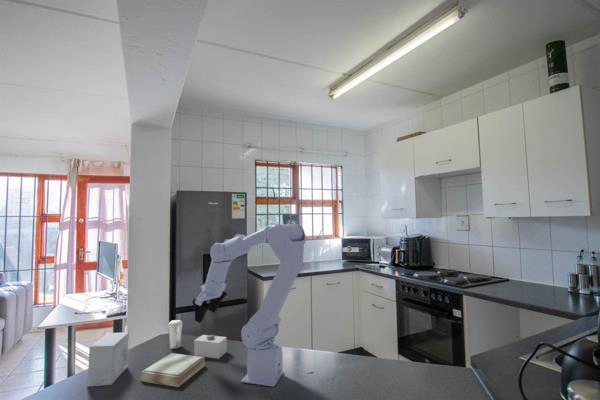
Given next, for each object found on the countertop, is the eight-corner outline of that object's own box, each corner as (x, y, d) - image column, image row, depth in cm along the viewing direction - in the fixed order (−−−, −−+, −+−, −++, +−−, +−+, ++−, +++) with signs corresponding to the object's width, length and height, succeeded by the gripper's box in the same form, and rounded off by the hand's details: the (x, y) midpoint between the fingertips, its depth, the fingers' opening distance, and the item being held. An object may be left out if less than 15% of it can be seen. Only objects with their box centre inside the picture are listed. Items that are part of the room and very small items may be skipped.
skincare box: (112, 385, 81) (114, 344, 82) (86, 387, 80) (87, 346, 81) (128, 366, 91) (129, 331, 92) (105, 368, 90) (106, 332, 91)
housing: (226, 352, 101) (226, 334, 101) (218, 359, 96) (218, 340, 96) (202, 349, 103) (203, 332, 103) (194, 356, 98) (194, 337, 99)
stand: (204, 366, 91) (204, 356, 91) (178, 387, 79) (178, 376, 80) (170, 361, 94) (170, 352, 94) (140, 381, 83) (141, 370, 83)
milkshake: (185, 343, 108) (185, 315, 108) (178, 350, 102) (178, 320, 103) (173, 343, 108) (173, 314, 109) (165, 349, 103) (165, 319, 104)
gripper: (217, 267, 104) (207, 302, 106) (191, 280, 90) (180, 320, 92) (235, 275, 102) (224, 310, 104) (211, 289, 88) (199, 330, 90)
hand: (205, 315), depth 98 cm, fingers open, 7 cm apart
